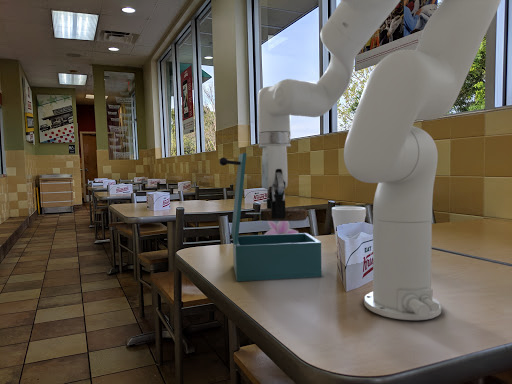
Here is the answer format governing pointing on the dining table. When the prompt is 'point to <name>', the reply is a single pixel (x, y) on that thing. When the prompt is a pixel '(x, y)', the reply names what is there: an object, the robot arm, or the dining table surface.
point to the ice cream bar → (290, 215)
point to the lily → (280, 228)
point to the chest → (276, 257)
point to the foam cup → (347, 215)
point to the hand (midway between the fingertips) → (275, 215)
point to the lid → (237, 193)
